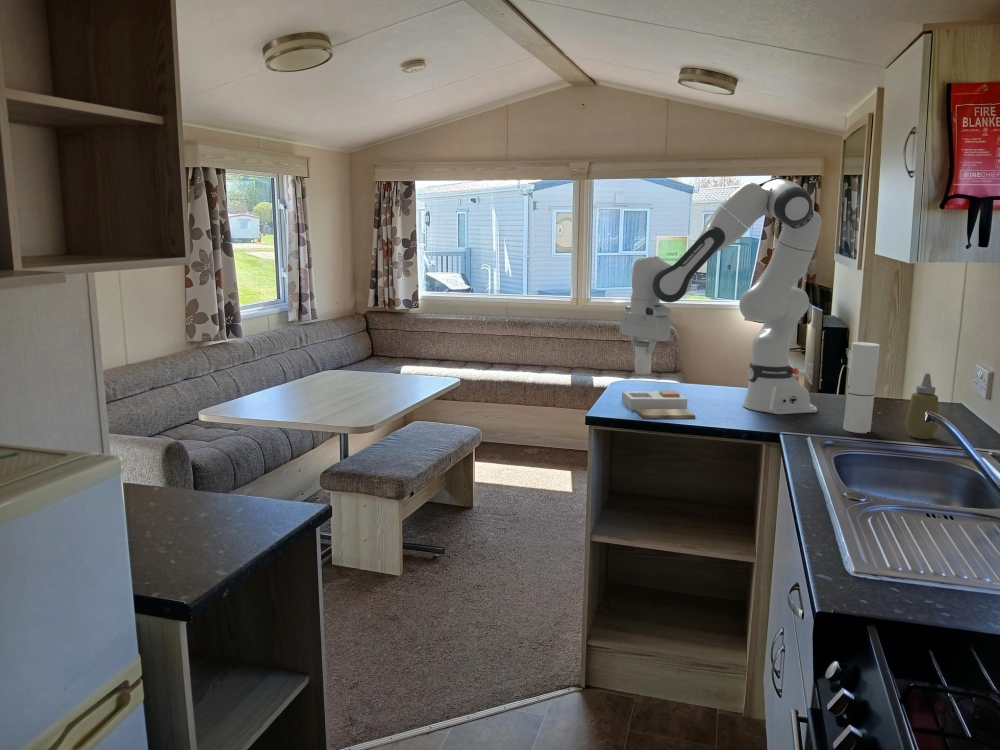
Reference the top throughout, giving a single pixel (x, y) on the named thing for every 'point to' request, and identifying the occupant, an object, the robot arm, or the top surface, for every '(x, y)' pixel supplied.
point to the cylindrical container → (861, 387)
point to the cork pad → (665, 413)
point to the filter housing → (652, 400)
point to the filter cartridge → (642, 357)
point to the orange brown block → (669, 394)
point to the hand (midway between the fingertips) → (643, 351)
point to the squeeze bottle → (922, 410)
